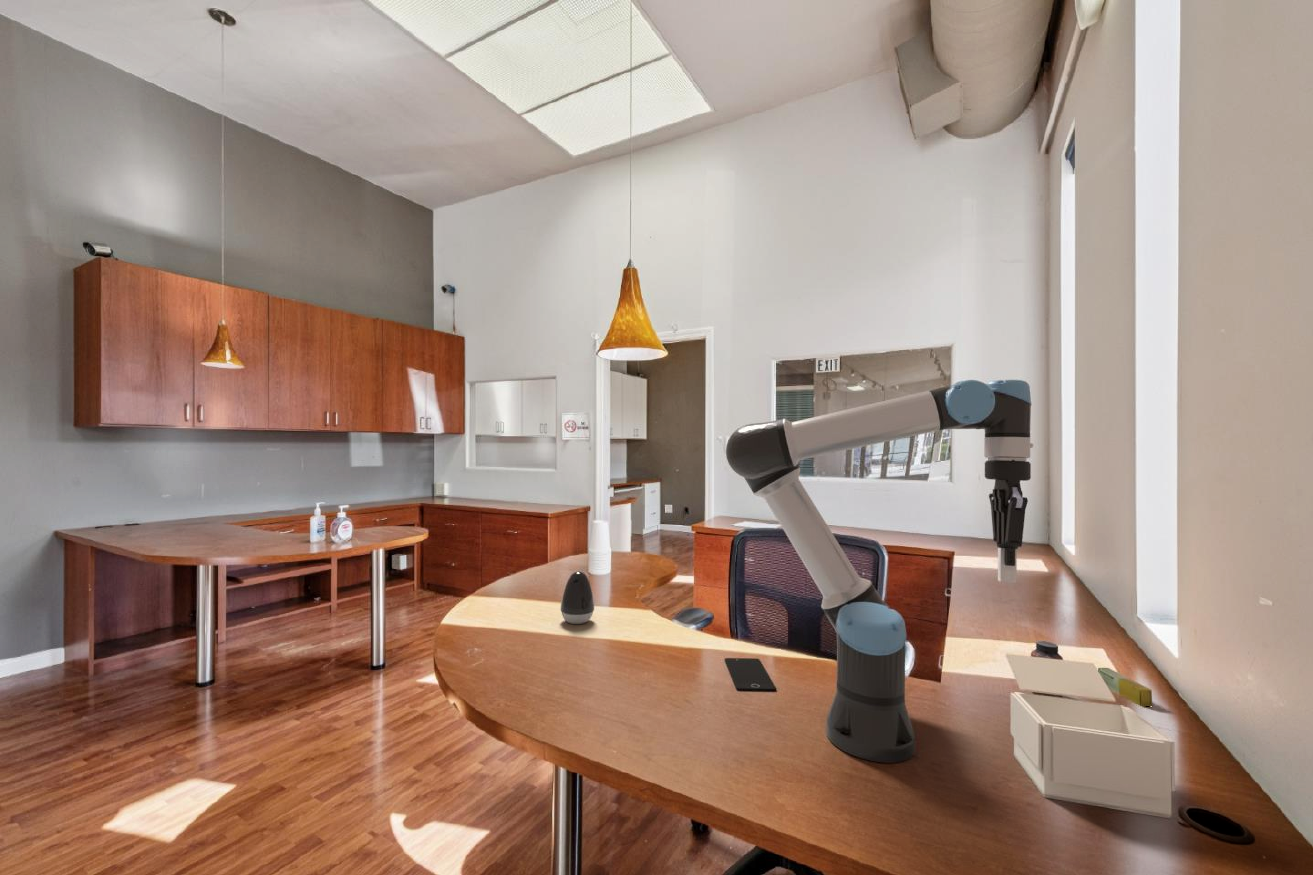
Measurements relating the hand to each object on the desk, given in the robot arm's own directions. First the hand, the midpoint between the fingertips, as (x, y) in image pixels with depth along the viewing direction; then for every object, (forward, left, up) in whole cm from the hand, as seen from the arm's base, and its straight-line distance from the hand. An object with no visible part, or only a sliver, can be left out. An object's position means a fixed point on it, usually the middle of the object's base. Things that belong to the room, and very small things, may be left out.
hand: (1007, 581), depth 103 cm
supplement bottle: (+15, +22, -29) cm, 39 cm away
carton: (+6, -15, -28) cm, 33 cm away
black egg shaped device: (-104, +34, -29) cm, 113 cm away
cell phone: (-50, +11, -29) cm, 59 cm away
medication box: (+32, +28, -29) cm, 52 cm away
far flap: (+6, -6, -15) cm, 17 cm away
